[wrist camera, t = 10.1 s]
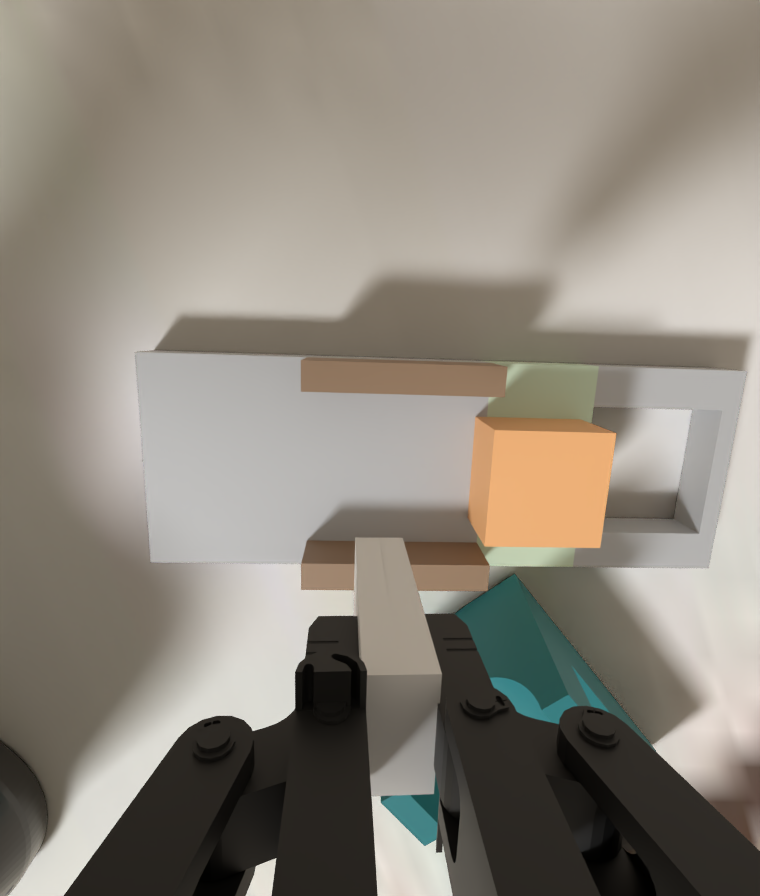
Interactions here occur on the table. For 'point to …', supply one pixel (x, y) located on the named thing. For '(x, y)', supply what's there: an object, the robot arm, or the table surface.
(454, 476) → the deck
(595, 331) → the table surface
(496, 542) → the block
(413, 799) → the teal l-shaped bracket
